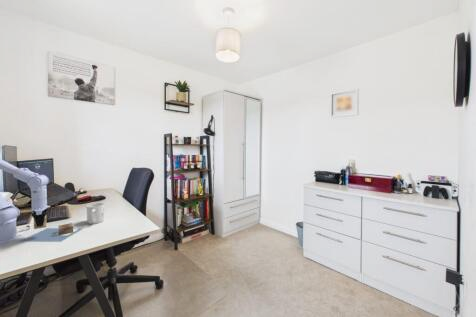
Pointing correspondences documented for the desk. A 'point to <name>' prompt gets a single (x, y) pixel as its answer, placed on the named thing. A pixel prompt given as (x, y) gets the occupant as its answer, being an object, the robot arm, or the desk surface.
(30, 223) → the desk surface
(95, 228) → the desk surface
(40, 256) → the desk surface
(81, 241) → the desk surface
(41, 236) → the mat
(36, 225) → the maple block
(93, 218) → the mug
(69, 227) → the walnut base
